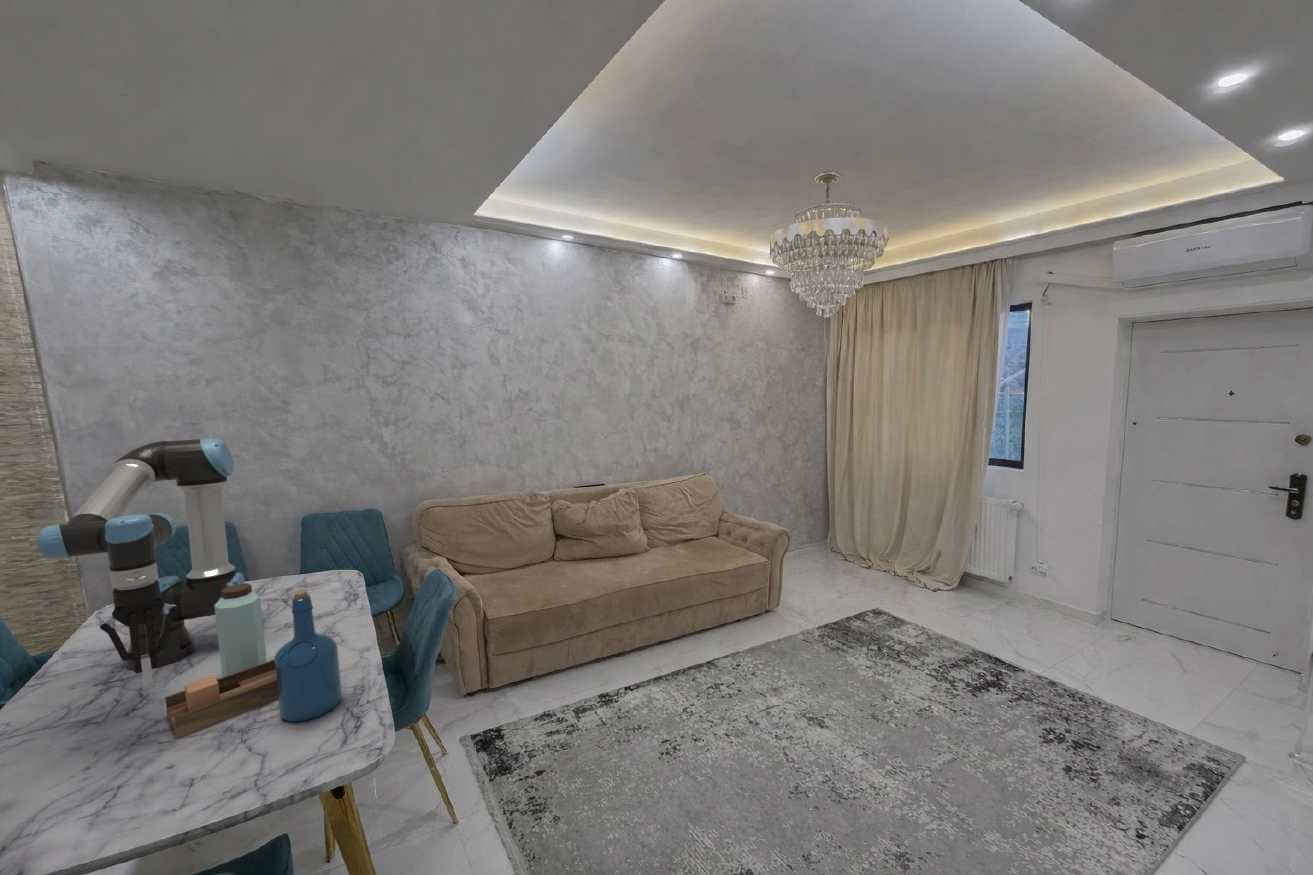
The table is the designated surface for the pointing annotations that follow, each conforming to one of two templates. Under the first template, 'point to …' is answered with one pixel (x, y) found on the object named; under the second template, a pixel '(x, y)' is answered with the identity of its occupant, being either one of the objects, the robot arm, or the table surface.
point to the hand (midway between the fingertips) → (147, 683)
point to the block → (202, 692)
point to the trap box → (225, 699)
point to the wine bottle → (307, 667)
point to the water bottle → (239, 629)
